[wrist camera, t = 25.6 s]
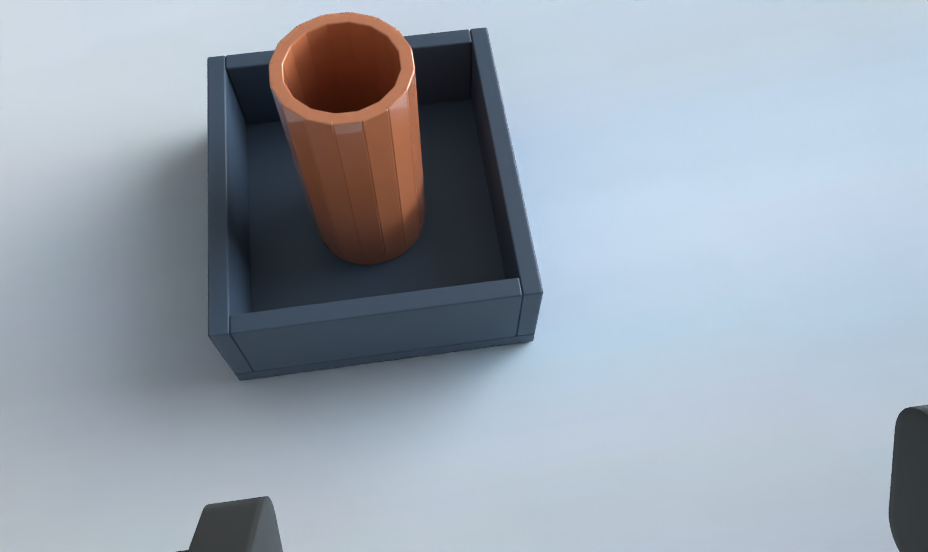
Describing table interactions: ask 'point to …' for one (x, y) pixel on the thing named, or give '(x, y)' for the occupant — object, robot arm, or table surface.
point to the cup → (353, 132)
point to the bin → (356, 285)
